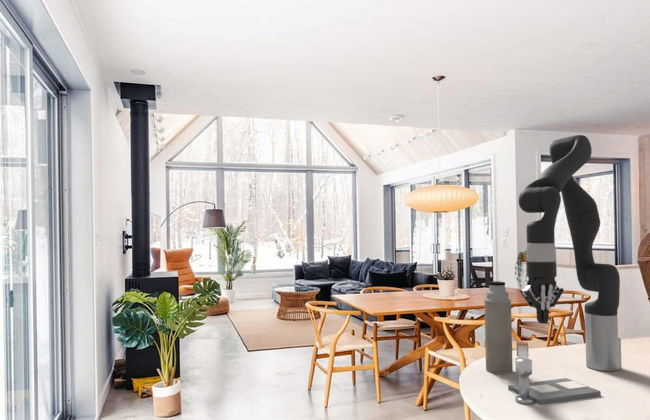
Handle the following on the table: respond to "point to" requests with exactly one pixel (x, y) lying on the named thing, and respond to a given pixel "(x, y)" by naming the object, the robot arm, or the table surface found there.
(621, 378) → the table surface
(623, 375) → the table surface
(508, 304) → the thermos bottle
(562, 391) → the label tray
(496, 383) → the table surface
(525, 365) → the swing arm
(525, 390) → the post
